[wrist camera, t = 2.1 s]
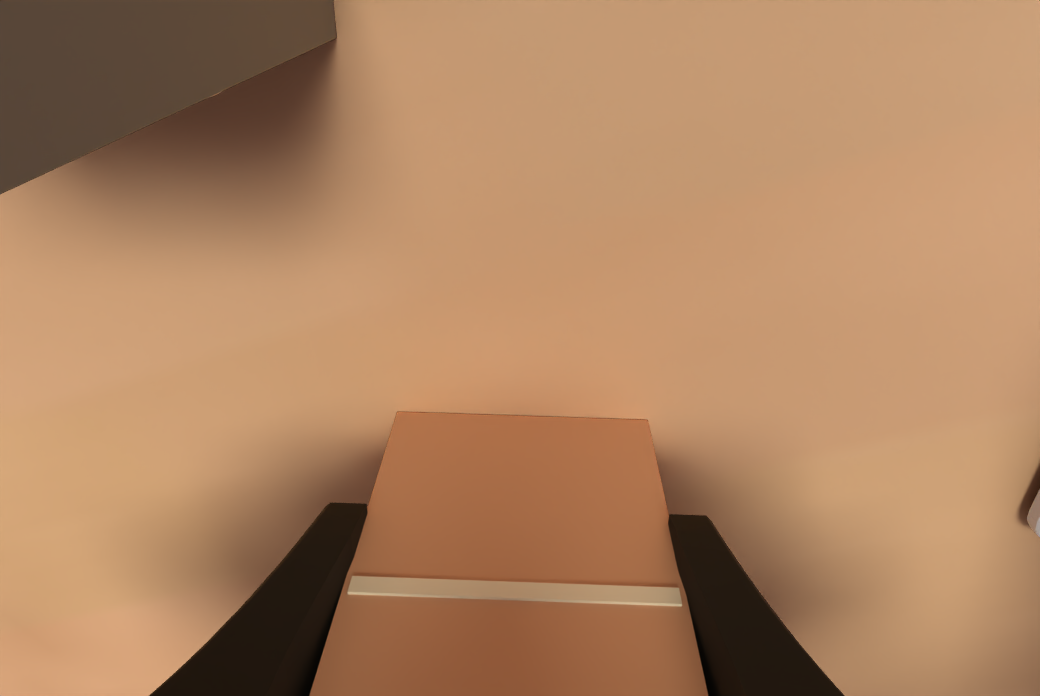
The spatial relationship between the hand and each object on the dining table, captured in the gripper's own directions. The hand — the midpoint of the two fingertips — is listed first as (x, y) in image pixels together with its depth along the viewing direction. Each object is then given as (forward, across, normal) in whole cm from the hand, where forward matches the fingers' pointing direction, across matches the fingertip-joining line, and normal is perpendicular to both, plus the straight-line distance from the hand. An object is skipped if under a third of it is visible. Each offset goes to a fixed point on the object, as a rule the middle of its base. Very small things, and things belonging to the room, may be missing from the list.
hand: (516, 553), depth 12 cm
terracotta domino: (+3, 0, 0) cm, 3 cm away
